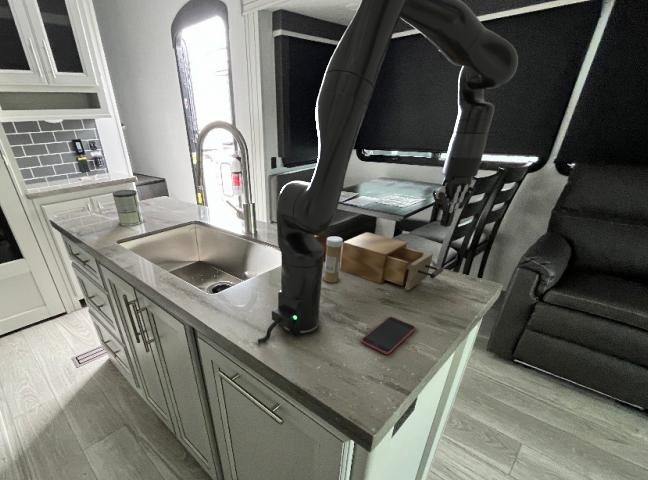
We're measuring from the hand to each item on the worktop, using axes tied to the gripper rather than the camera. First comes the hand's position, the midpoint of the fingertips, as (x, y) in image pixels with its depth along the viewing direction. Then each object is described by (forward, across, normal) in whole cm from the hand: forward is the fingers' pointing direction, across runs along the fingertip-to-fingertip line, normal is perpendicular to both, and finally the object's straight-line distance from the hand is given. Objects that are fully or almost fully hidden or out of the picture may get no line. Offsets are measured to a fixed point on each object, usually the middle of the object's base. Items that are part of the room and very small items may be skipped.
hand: (445, 225), depth 85 cm
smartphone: (+19, +26, +13) cm, 35 cm away
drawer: (+18, +3, -7) cm, 20 cm away
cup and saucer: (+19, +14, -35) cm, 42 cm away
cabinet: (+19, +6, -18) cm, 27 cm away
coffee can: (+19, +74, -109) cm, 134 cm away
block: (+17, +3, -7) cm, 19 cm away
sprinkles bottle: (+19, +22, -17) cm, 34 cm away
